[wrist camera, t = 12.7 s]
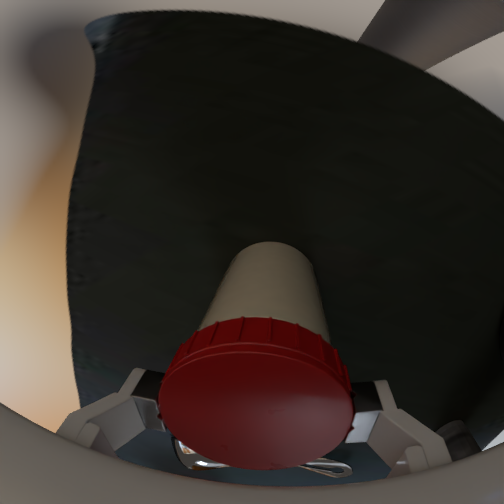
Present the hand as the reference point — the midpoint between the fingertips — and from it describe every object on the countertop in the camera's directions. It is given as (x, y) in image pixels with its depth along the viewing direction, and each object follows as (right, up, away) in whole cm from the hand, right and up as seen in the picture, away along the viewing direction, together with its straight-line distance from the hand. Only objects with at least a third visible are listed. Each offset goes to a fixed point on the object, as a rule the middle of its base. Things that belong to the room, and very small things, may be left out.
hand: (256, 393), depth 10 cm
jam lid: (0, 0, -1) cm, 1 cm away
